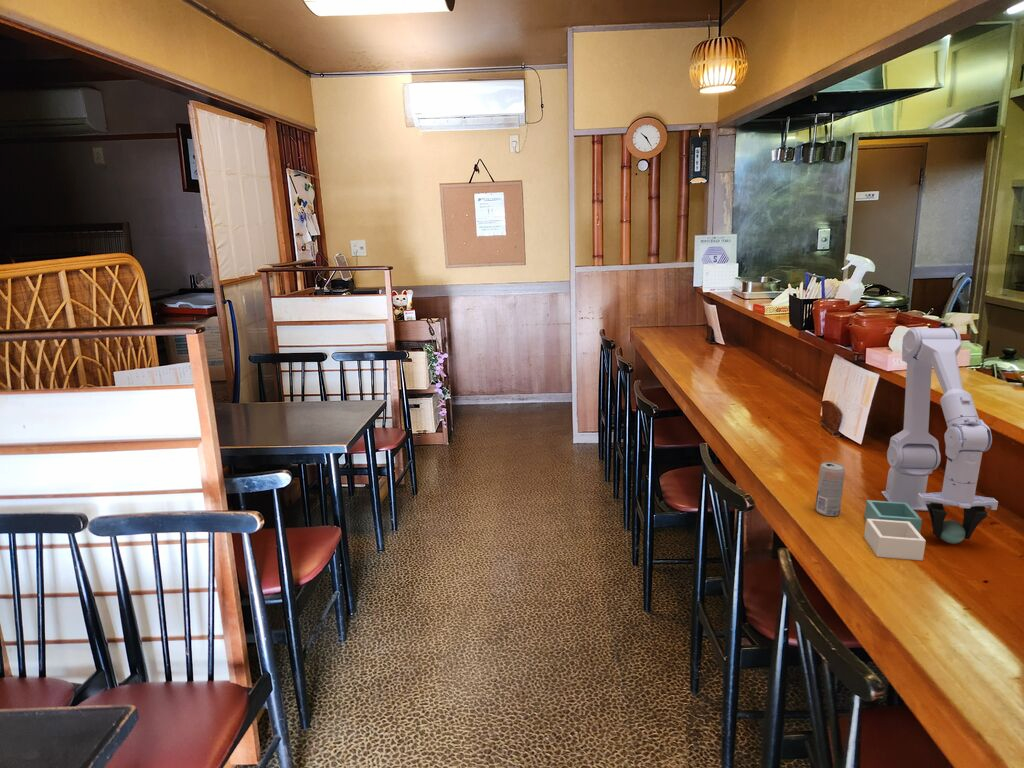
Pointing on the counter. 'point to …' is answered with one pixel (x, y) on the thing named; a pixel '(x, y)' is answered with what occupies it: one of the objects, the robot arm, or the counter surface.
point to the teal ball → (952, 532)
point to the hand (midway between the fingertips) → (950, 536)
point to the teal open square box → (892, 512)
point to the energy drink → (830, 489)
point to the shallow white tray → (894, 539)
